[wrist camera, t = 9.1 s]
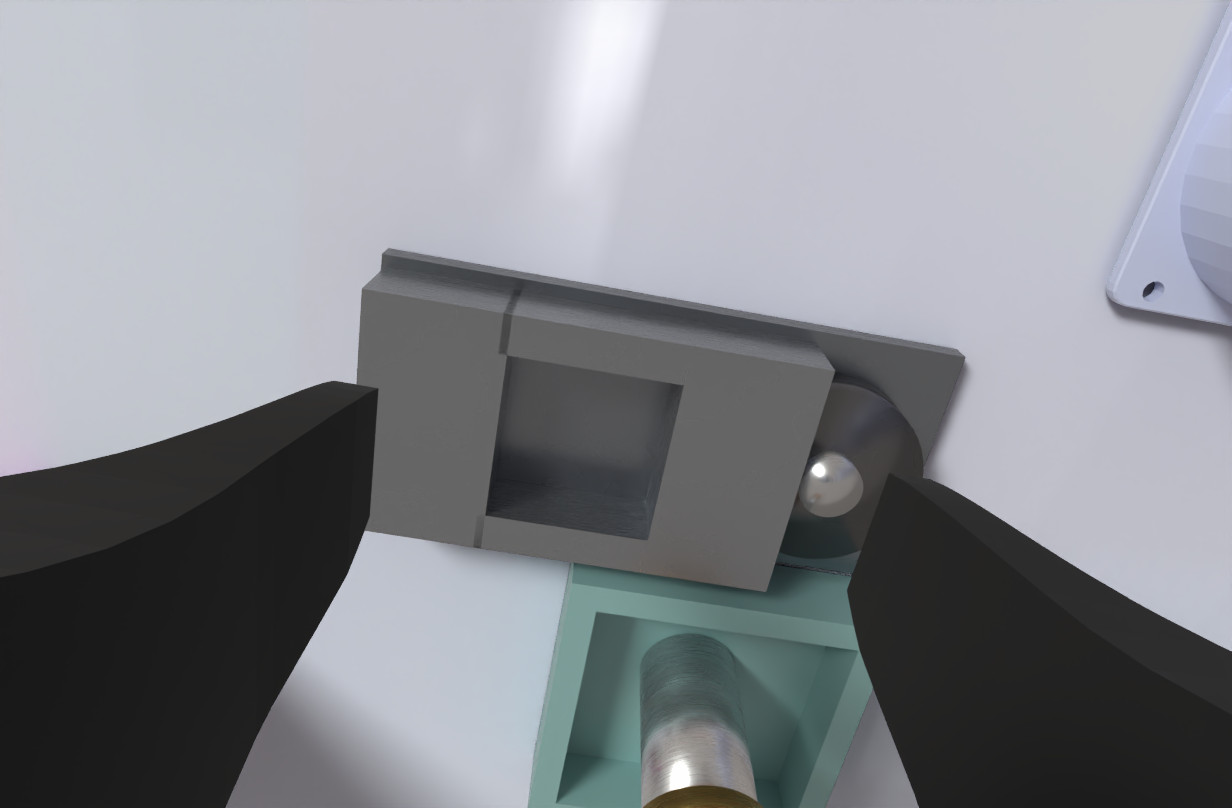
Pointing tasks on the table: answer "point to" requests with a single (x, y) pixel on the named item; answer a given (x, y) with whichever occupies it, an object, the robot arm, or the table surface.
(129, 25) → the table surface
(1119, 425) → the table surface
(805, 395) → the plate
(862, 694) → the tray
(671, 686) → the pin
